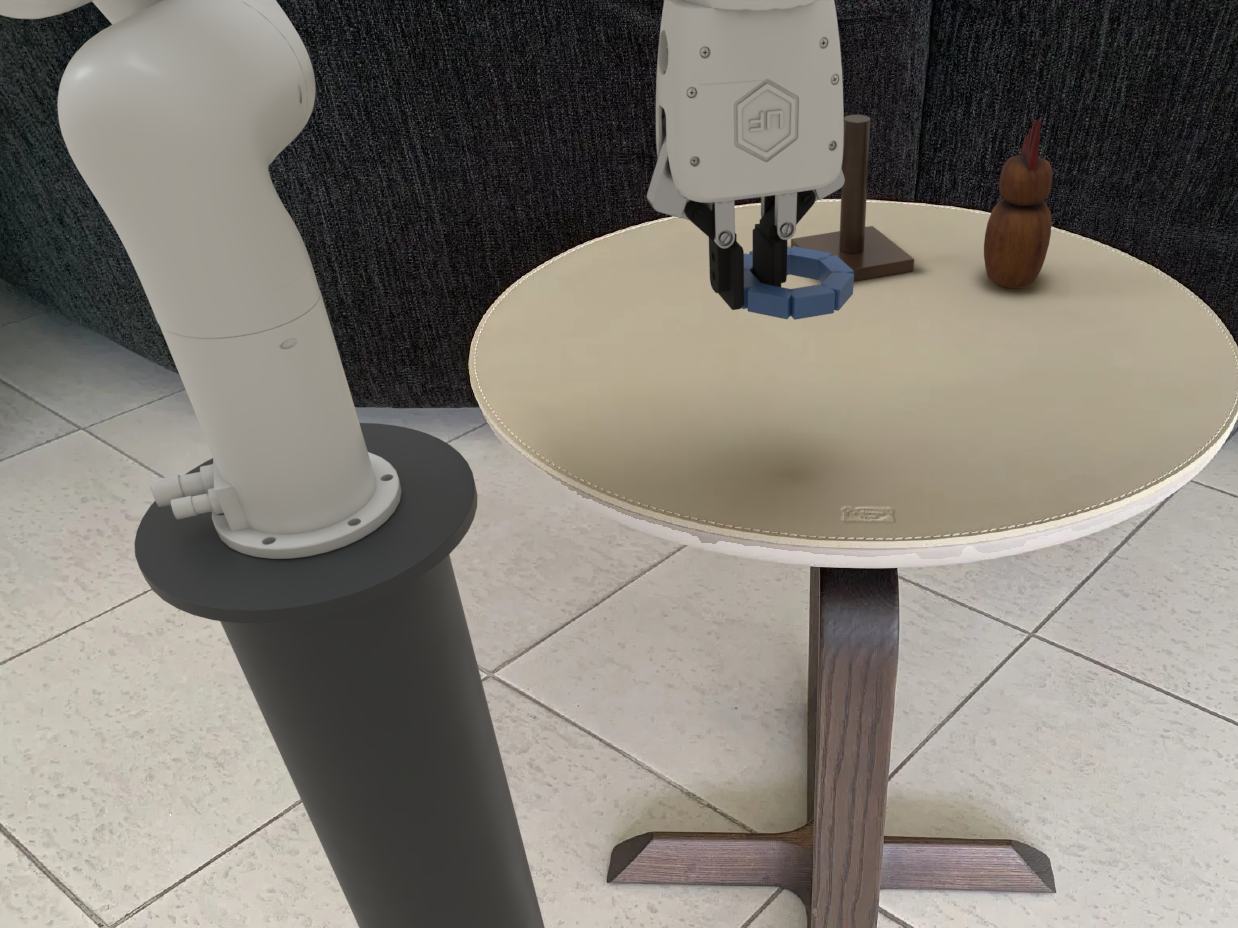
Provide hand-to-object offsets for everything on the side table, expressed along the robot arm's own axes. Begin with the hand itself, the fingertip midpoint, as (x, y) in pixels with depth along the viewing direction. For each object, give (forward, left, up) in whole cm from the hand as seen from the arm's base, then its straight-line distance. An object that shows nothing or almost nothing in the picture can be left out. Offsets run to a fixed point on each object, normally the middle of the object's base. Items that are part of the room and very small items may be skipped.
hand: (748, 295), depth 67 cm
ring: (+3, 0, 0) cm, 3 cm away
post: (+22, +31, -13) cm, 40 cm away
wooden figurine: (+34, +21, -13) cm, 43 cm away
